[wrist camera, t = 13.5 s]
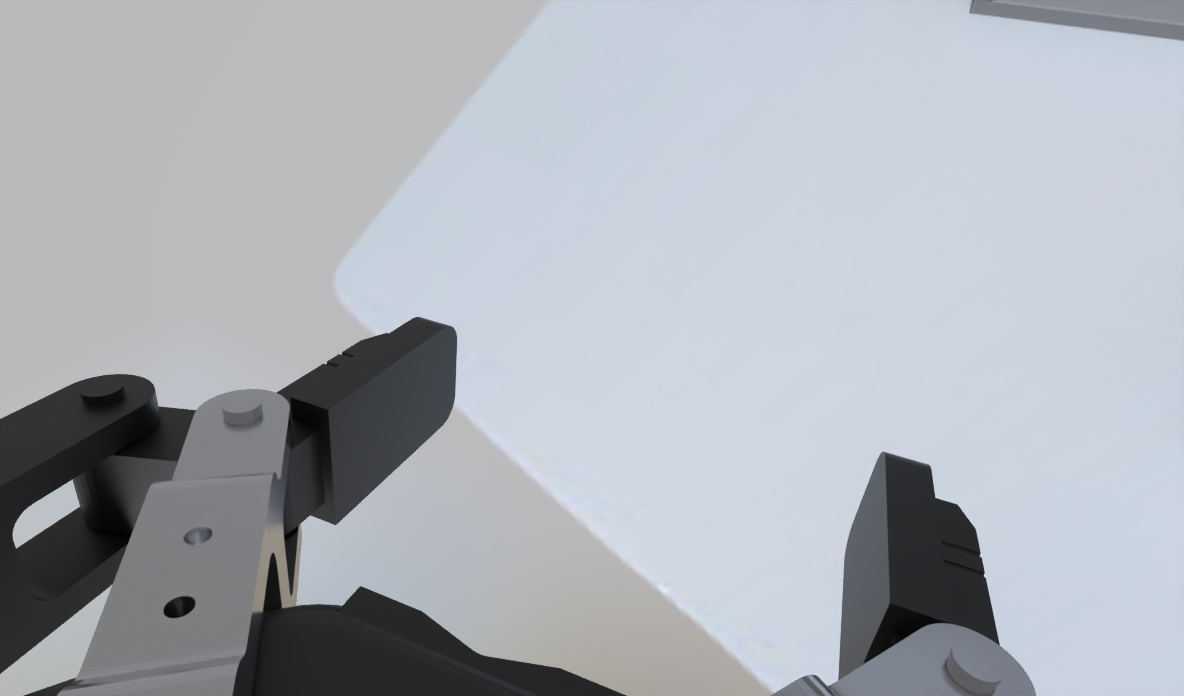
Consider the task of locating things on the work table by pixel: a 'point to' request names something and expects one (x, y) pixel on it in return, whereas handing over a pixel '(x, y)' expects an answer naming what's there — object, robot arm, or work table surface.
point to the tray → (1095, 14)
